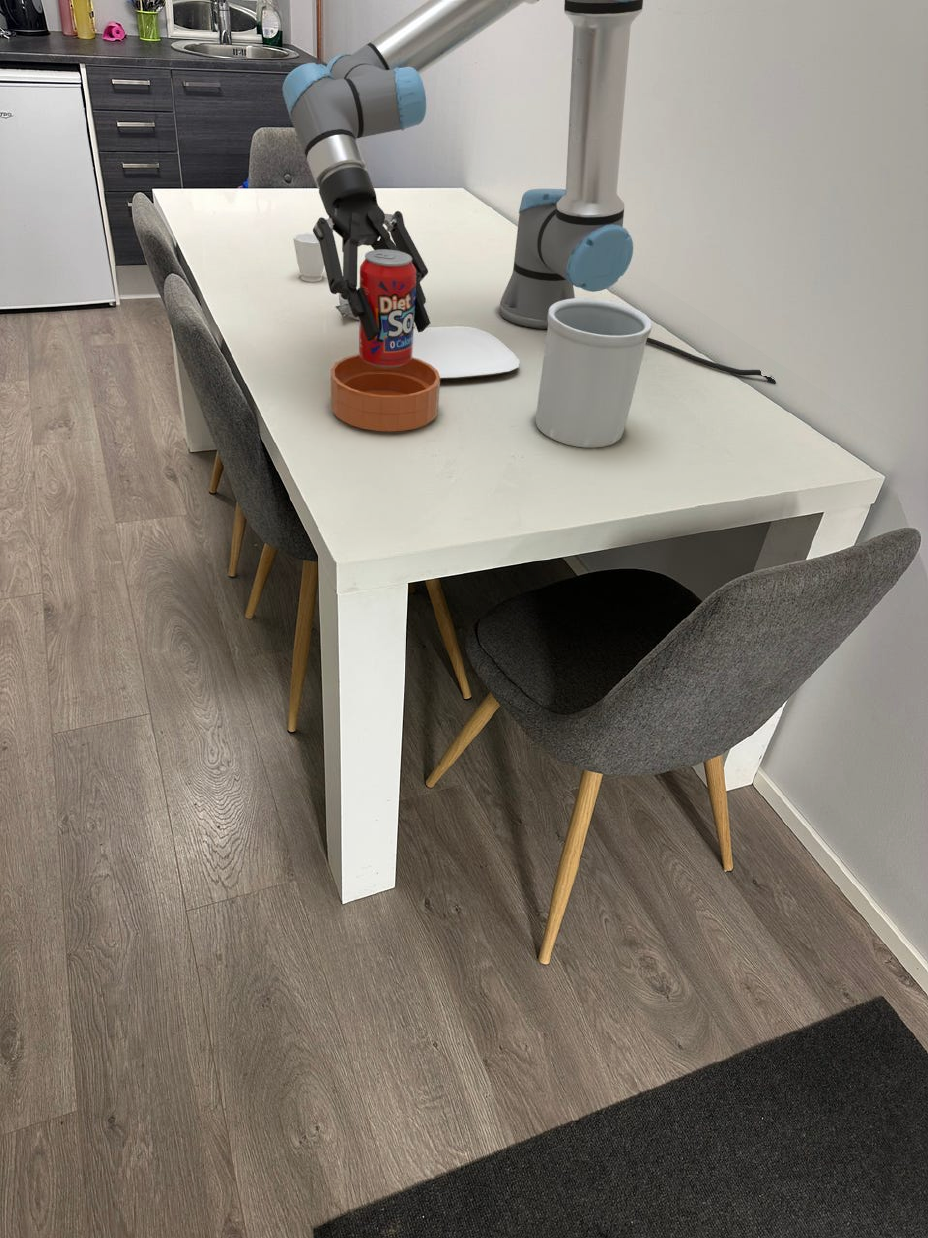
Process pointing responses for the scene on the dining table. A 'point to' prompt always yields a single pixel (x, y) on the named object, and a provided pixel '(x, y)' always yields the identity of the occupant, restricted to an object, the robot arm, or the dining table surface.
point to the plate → (463, 352)
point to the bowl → (384, 394)
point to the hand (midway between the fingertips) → (399, 331)
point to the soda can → (389, 307)
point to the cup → (309, 256)
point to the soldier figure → (345, 308)
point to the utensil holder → (590, 370)
